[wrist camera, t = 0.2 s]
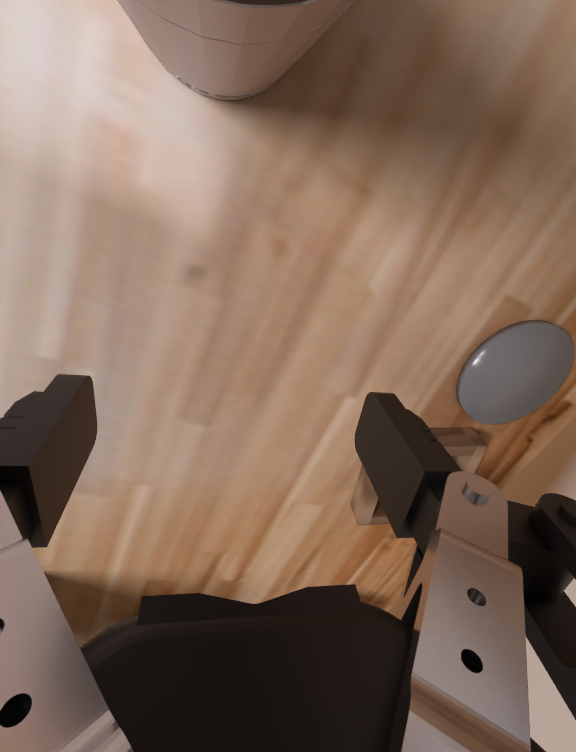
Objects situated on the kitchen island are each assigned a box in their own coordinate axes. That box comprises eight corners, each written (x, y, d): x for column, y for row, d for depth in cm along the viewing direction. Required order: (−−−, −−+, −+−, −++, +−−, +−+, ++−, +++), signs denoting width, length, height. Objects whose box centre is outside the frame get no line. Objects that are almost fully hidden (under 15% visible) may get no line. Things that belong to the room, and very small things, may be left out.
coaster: (483, 316, 32) (489, 320, 31) (588, 323, 34) (596, 326, 33) (440, 419, 37) (444, 424, 37) (533, 419, 40) (539, 424, 39)
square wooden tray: (373, 428, 36) (384, 448, 34) (471, 427, 39) (488, 446, 36) (350, 504, 42) (358, 525, 40) (437, 499, 44) (449, 519, 42)
